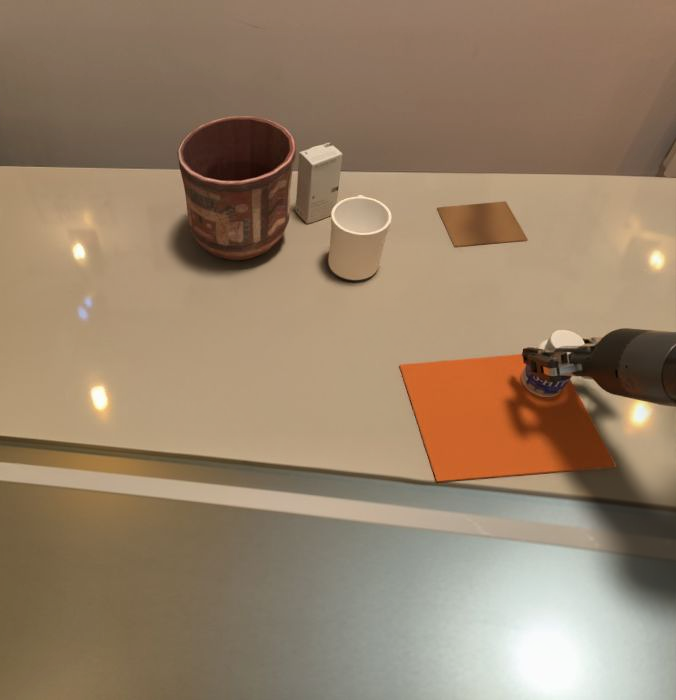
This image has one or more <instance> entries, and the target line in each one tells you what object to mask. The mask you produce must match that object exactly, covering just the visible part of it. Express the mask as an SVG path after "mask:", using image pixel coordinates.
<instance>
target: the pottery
mask: <svg viewBox="0 0 676 700" xmlns="http://www.w3.org/2000/svg"><path fill="white" fill-rule="evenodd" d="M296 154H297V146H296V139H295V137H294V136H293V135H292V133H291V132H290V131H289V130H288V129H287V128H286V126H283V125H281V124H279V123H277V122H275V121H272V120H271V119H266V118H260V117H258V116H257V117H256V116H252V115H251V116H250V115H249V116H248V115H247V116H228V117H223V118H218V119H214V120H211V121H209V122H206V123H204V124H201V125H199V126H198V127H196V128H195V129H193V130H191V131H190V132H189V133H188V134H187V135H186V136H185V137H184V139H182V141H181V142H180V144H179V146H178V149H177V160H178V165H179V172H180V176H181V179H182V184H183V190H184V195H185V203H186V204H185V205H186V213H187V219H188V224H189V229H190V231H191V234H192V235H193V237H194V238H195V240H196V241H197V243H198V244H199V245H200V246H201V248H202V249H204V250H205V251H207V252H208V253H209V254H212V255H213V256H215V257H218V258H221V259H224V260H227V261H245V260H251V259H253V258H254V259H255V258H256V257H258V256H260V255H263V254H265V253H267V252H268V251H269V250H270V249H271V248H273V247H274V246H275V245H276V244H277V243H278V242H279V241H280V240H281V239H282V237H283V235H284V233H285V231H286V229H287V227H288V224H289V221H290V215H291V186H292V178H293V171H294V167H295V166H294V165H295V162H296Z"/></svg>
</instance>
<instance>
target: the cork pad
mask: <svg viewBox="0 0 676 700" xmlns="http://www.w3.org/2000/svg"><path fill="white" fill-rule="evenodd" d="M436 210H437V213H438V214H439V217H440V219H441V221H442V223H443V225H444V228H445V230H446V232H447V234H448V236H449V237H450V241H451V242H452V245H453V247H454V248H462V247H474V246H483V245H494V244H496V245H497V244H507V243H517V242H527V241H528V238H527V236H526V234H525V232H524V230H523V228H522V227H521V225H520V223H519V222H518V219H517V218H516V217H515V214H514V213H513V211H512V210H511V208H510V206H509V205H508V203H507V201H506V200H504V201H495V202H494V201H493V202H483V203H482V202H481V203H471V204H461V205H450V206H438V207H436Z"/></svg>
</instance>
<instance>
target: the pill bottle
mask: <svg viewBox="0 0 676 700" xmlns="http://www.w3.org/2000/svg"><path fill="white" fill-rule="evenodd" d="M583 339H584V338H582V337H581V336H580V335H579V334H577V332H574V331H572V330H569V329H558V330H555V331H554V332H552V333H551V335H550V336H549V338H547V339H545V340H543V341H541V342H540V343H539V344H538V345H537V347H536V348H538V349H545V350H555V349H556V348H559V347H561V346H581V345H584V344H585V343H584V341H583ZM570 353H571V352H567V359H568V363H569V354H570ZM550 358H555V357H554V356H550ZM572 377H573V376H561V375H560V379H561V381H559V382H556V383H553V382H548V381H546V380H544V379H541V378H539V377H536V376H534V375H531V373H530V365H526V367H525V368H524V370H523V372H522V375H521V379H522V383H523V385H524V386H525V387H526V388H527V389H528V390H529V391H530V392H531V393H533V394H535V395H538V396H541V397H553V396H556V395H557V394H559V393H560V392H561V391H562V389H563V388H564V387H565V385H566V384H567V382H568V381H569V380H571V379H572Z"/></svg>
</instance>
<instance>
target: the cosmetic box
mask: <svg viewBox="0 0 676 700" xmlns="http://www.w3.org/2000/svg"><path fill="white" fill-rule="evenodd" d="M343 156H344V155H343V152H341V150H339V149H338V148H336V147H335V146H334V145H333V144H332V143H331V142H326V143H323V144H320V145H315V146H312V147H310V148H308V149H304V150H302V151H299V154H298V164H297V165H298V166H297V180H296V181H297V183H296V196H295V197H296V199H295V213H296V214H297V215H298V216H299V217H300V219H302V221H303V222H304V223H305V224H311V223H315V222H318V221H320V220H323V219H326V218H329V217H331V213H332V209H333V208H334V206H335V205H336V204H337V203H338V196H339V186H340V180H341V171H342V163H343Z"/></svg>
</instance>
